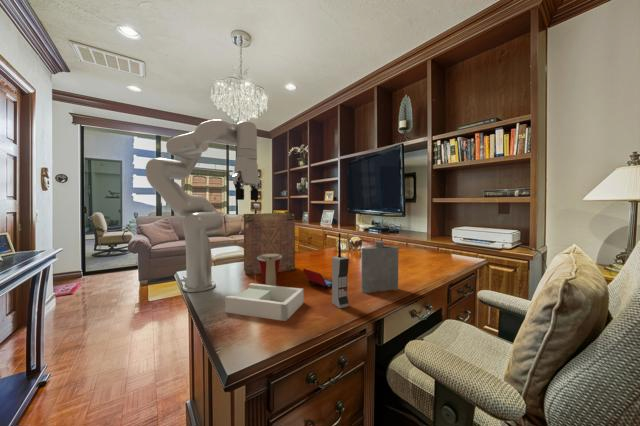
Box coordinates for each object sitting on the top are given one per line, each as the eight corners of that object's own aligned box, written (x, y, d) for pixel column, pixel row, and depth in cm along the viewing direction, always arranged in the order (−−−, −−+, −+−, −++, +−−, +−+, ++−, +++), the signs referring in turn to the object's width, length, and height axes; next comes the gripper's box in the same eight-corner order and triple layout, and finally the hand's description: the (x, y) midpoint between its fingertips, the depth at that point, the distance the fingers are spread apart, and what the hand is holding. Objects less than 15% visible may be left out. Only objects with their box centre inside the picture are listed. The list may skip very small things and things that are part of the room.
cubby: (225, 312, 83) (225, 297, 83) (251, 296, 98) (250, 283, 97) (285, 321, 77) (285, 304, 77) (303, 302, 91) (303, 288, 91)
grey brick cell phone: (339, 309, 86) (339, 234, 85) (332, 303, 90) (332, 233, 89) (349, 306, 87) (349, 233, 86) (341, 301, 92) (341, 232, 91)
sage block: (233, 309, 86) (233, 296, 86) (248, 300, 95) (248, 288, 94) (257, 313, 83) (257, 299, 83) (270, 303, 92) (270, 290, 92)
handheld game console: (340, 286, 109) (340, 269, 109) (320, 292, 103) (320, 274, 102) (321, 280, 119) (321, 264, 119) (302, 284, 112) (302, 267, 112)
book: (244, 275, 126) (244, 214, 125) (243, 270, 135) (243, 213, 134) (295, 270, 135) (294, 213, 134) (291, 266, 144) (290, 213, 142)
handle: (279, 294, 99) (278, 256, 99) (262, 295, 98) (261, 256, 98) (279, 290, 104) (279, 253, 103) (263, 291, 103) (262, 254, 103)
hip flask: (363, 293, 100) (363, 242, 100) (359, 290, 104) (359, 241, 103) (399, 290, 104) (400, 241, 103) (394, 286, 108) (394, 239, 107)
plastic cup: (253, 285, 110) (253, 258, 110) (262, 278, 121) (262, 253, 120) (278, 286, 109) (277, 258, 108) (284, 279, 119) (284, 253, 119)
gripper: (250, 159, 108) (251, 200, 109) (224, 151, 92) (224, 199, 92) (266, 158, 106) (267, 200, 107) (242, 150, 89) (242, 199, 90)
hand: (247, 199), depth 99 cm, fingers open, 9 cm apart
